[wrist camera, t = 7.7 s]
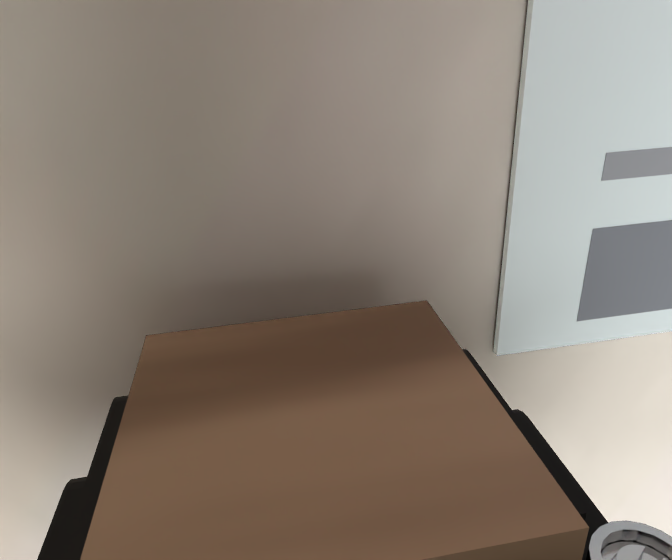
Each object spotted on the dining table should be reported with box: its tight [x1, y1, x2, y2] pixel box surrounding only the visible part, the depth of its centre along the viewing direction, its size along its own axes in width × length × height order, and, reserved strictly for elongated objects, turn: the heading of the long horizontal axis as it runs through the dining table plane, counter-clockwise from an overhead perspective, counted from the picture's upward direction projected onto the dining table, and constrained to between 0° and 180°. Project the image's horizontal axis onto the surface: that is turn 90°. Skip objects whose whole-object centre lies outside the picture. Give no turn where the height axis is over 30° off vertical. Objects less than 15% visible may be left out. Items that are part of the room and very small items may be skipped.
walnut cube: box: [80, 301, 589, 560], centre depth 8 cm, size 5×5×5 cm
